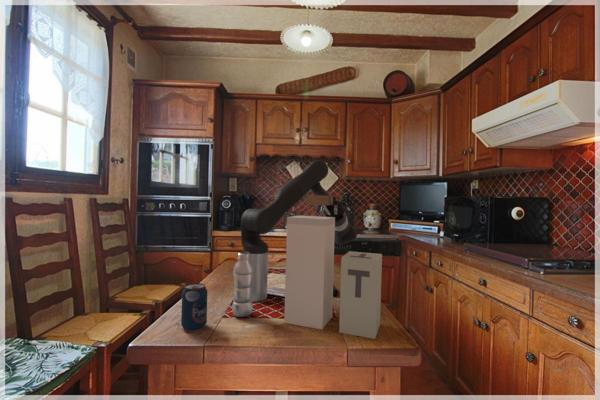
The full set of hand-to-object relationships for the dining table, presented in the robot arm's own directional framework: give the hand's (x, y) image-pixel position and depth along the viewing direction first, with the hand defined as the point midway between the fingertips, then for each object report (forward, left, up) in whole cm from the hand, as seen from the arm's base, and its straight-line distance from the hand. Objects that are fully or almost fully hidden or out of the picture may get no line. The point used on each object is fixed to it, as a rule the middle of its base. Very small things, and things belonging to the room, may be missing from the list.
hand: (327, 197), depth 117 cm
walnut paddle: (-1, -3, -2) cm, 4 cm away
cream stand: (-3, -17, -38) cm, 42 cm away
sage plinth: (+13, -20, -38) cm, 45 cm away
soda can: (-34, -31, -39) cm, 60 cm away
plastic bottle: (-24, -19, -39) cm, 49 cm away
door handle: (-5, +16, -39) cm, 43 cm away
